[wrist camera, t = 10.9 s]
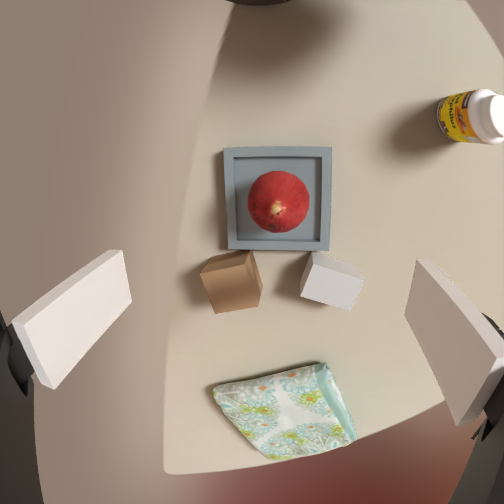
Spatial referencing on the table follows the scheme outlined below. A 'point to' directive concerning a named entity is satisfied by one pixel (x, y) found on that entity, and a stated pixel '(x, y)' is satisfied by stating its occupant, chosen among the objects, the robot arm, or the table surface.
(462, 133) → the supplement bottle
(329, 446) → the towel
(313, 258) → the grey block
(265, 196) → the onion
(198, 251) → the table surface
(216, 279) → the walnut cube
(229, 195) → the dish
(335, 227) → the table surface
